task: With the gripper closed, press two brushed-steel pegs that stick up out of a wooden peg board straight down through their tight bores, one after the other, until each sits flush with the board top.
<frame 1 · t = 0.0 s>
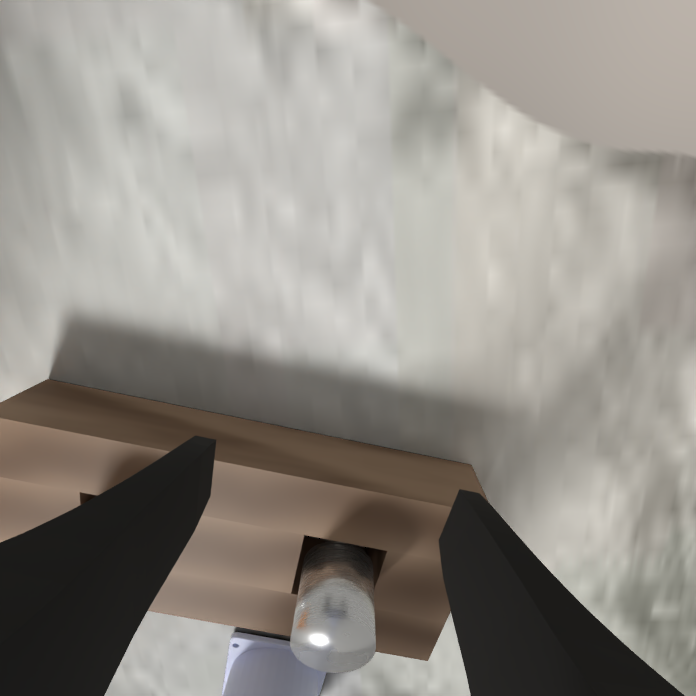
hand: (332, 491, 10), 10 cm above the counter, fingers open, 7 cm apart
wooden peg board: (252, 499, 23), on the counter
peg 1: (335, 601, 18), point 6 cm above the counter, slide at 3.5 cm
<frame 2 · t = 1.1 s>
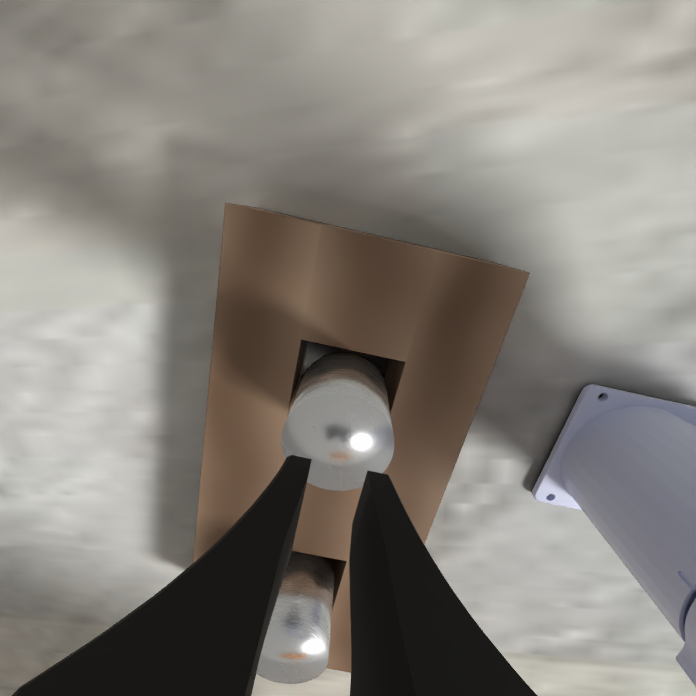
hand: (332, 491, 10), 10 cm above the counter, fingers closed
peg 2: (293, 612, 18), point 6 cm above the counter, slide at 3.5 cm
wooden peg board: (325, 452, 22), on the counter
peg 1: (340, 415, 14), point 6 cm above the counter, slide at 3.5 cm
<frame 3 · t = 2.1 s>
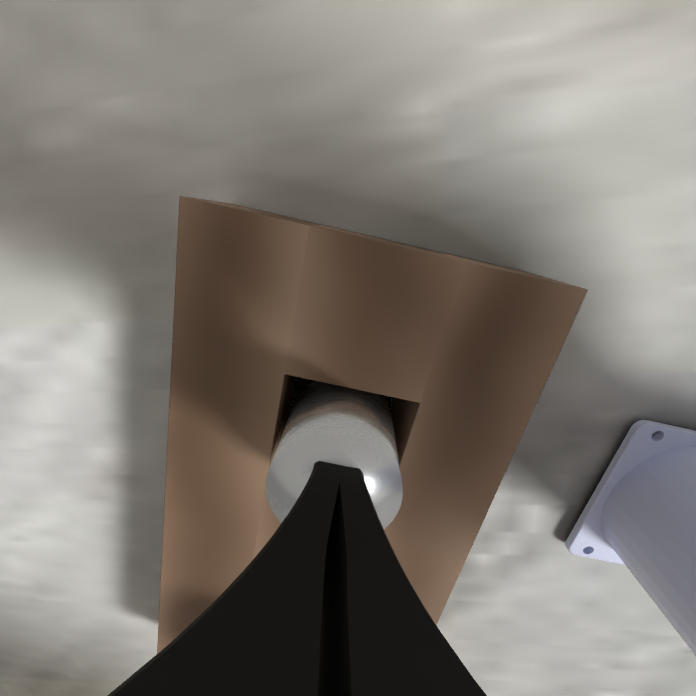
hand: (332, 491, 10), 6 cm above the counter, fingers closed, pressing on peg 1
wooden peg board: (319, 495, 18), on the counter
peg 1: (338, 451, 12), point 4 cm above the counter, slide at 2.2 cm, touching gripper
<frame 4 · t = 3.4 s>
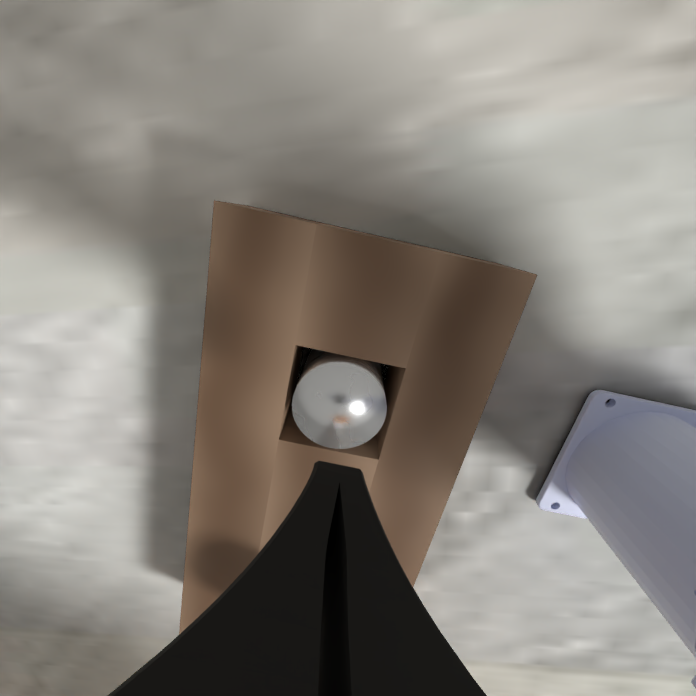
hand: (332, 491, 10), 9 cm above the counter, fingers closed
wooden peg board: (322, 459, 21), on the counter
peg 1: (341, 387, 17), point 2 cm above the counter, slide at 0.2 cm
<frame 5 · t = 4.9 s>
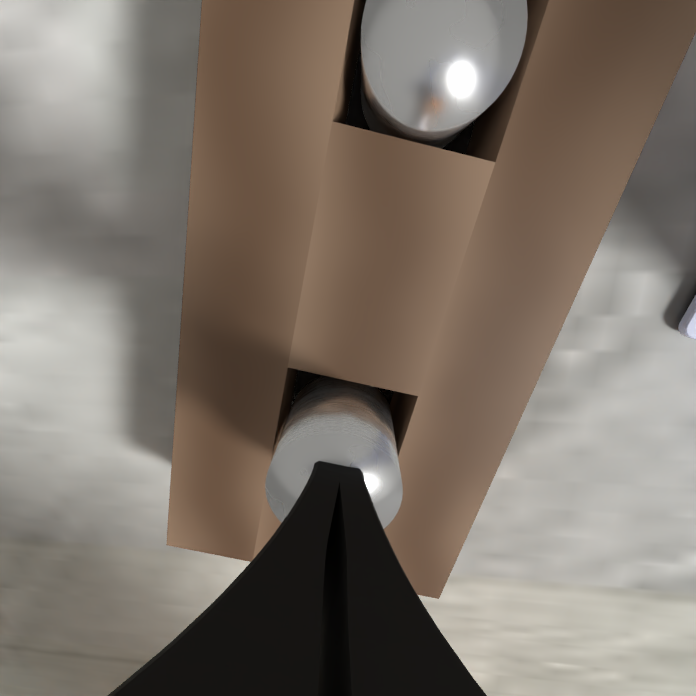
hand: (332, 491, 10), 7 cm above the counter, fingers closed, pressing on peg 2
peg 2: (337, 450, 12), point 5 cm above the counter, slide at 2.7 cm, touching gripper
wooden peg board: (375, 262, 15), on the counter
peg 1: (428, 68, 10), point 2 cm above the counter, slide at 0.2 cm
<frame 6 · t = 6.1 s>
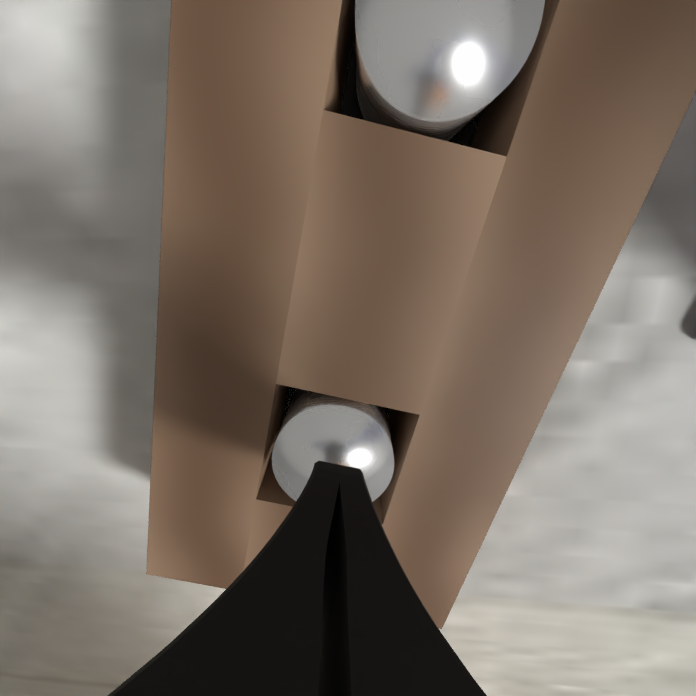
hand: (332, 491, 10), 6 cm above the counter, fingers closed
peg 2: (336, 430, 13), point 2 cm above the counter, slide at 0.2 cm
wooden peg board: (372, 266, 13), on the counter
peg 1: (430, 52, 9), point 2 cm above the counter, slide at 0.2 cm
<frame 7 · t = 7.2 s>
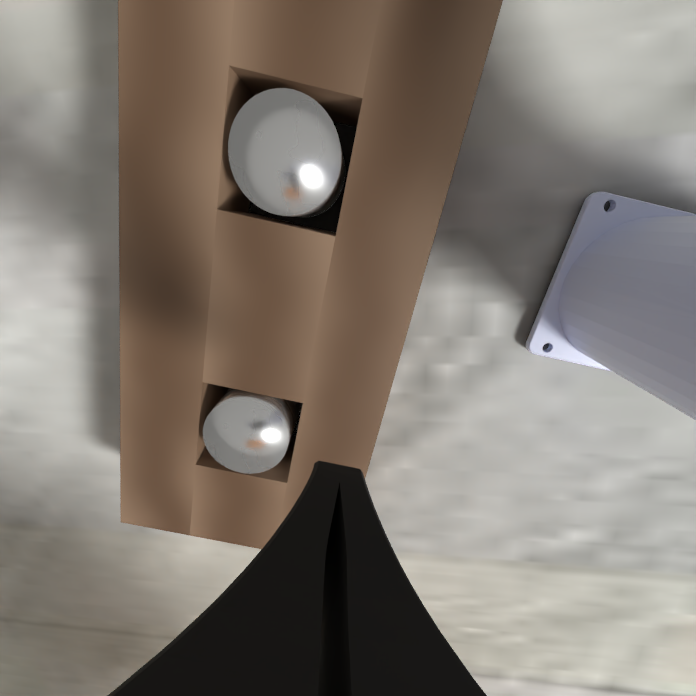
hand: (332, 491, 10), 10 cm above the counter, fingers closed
peg 2: (257, 416, 18), point 2 cm above the counter, slide at 0.2 cm
wooden peg board: (283, 296, 18), on the counter
peg 1: (294, 164, 14), point 2 cm above the counter, slide at 0.2 cm
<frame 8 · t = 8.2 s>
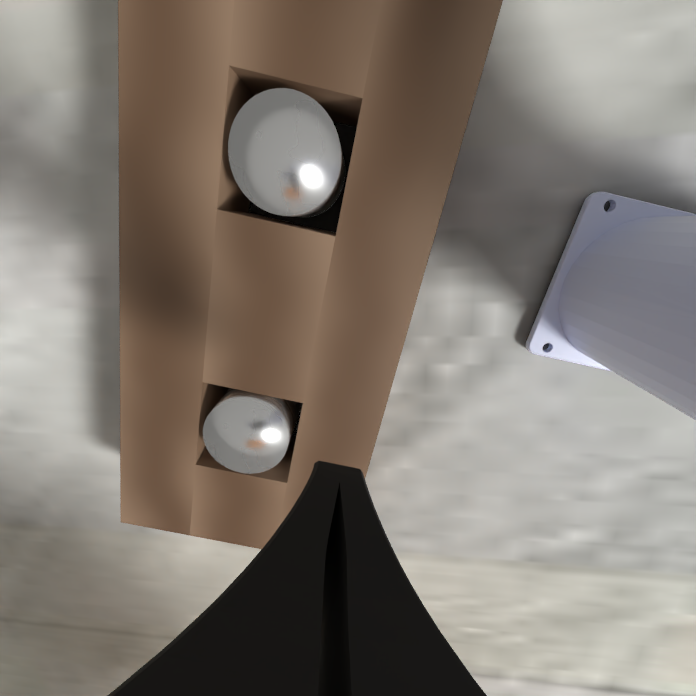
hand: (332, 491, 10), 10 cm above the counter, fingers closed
peg 2: (257, 416, 18), point 2 cm above the counter, slide at 0.2 cm
wooden peg board: (283, 296, 18), on the counter
peg 1: (294, 164, 14), point 2 cm above the counter, slide at 0.2 cm
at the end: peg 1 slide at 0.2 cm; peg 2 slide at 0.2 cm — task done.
